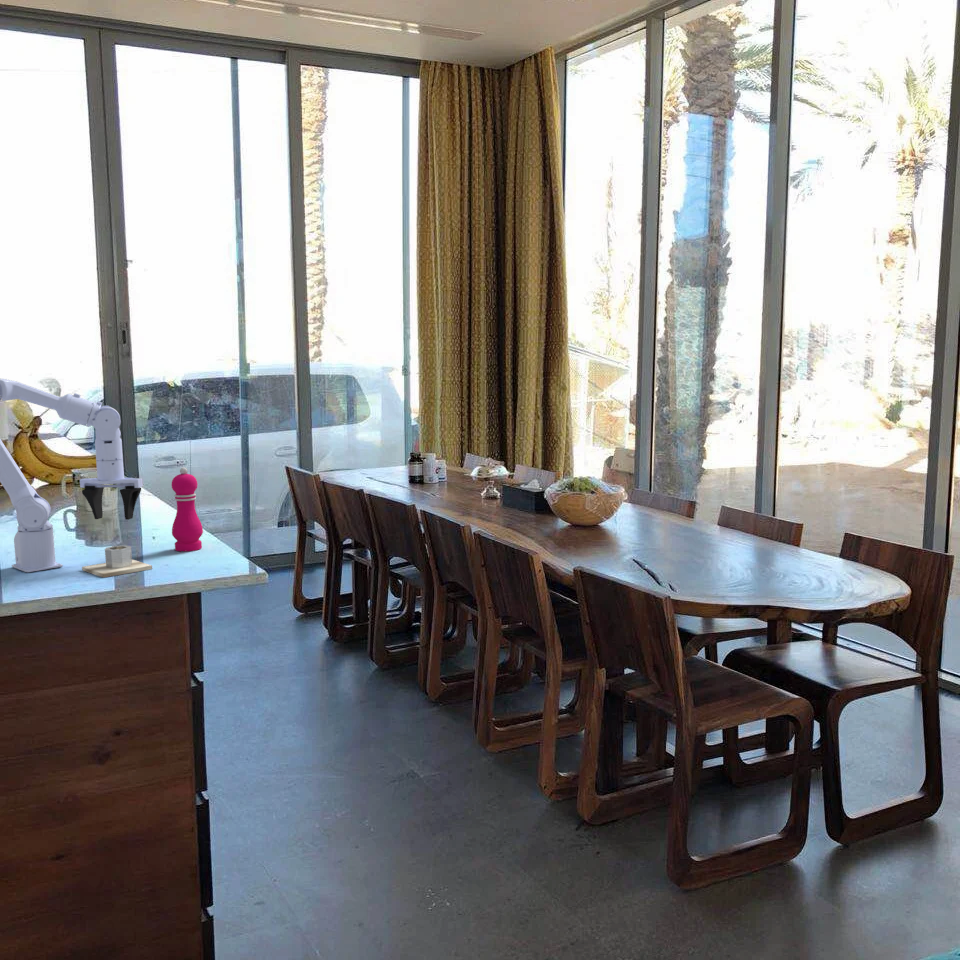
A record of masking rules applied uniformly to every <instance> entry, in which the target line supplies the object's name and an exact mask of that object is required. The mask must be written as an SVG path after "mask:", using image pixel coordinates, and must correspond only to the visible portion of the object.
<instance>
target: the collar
mask: <svg viewBox="0 0 960 960" xmlns="http://www.w3.org/2000/svg"><path fill="white" fill-rule="evenodd" d="M104 555H105V556H104V558H105V563H106V568H124V567H128V566H131V565H132V560H133V558H132V557H133V555H132V546H131V545H113V546H108V547H106V548H105V549H104Z"/></svg>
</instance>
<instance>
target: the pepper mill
mask: <svg viewBox="0 0 960 960" xmlns="http://www.w3.org/2000/svg"><path fill="white" fill-rule="evenodd" d="M179 473H180V474H177V475H175V476H174V477H173V478H172V481H171V489H172V490H173V492H174V493H175V494H174V501H176V514H175V518H174V520H173V523H172V528H171V535H172V537H173V538H174V539H175V540H176V541H175V542H174V549H175V551H177V552H182V551H183V552H195V551H198V550H201V549H202V548H203V546H202V545H203V543H202V540H200V538H201V537H202V535H203V534H204V530H203V525H202V522H201V519H200V518H199V516H198V514H197V511H196V506H195V500H196V499H197V496H196V495H197V494H196V493H195V492H196V490H197V489H198V486H199V485H198V480H197V478H196V477H195V476H194V475H193V474H190V473H188V469H187V468H186V467H185V466H182V467H181V468H180V469H179Z"/></svg>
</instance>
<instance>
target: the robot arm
mask: <svg viewBox="0 0 960 960" xmlns="http://www.w3.org/2000/svg"><path fill="white" fill-rule="evenodd" d="M12 400H13V401H14V400H21V401H23V402H27V403H30V404H33V405H37V406H41V407H45V408H47V409H51V410H54V411H55V412H56V413H57V415H58V417H59V418H60V419H63V420H65V421H69V422H72V423H75V424H78V425H81V426H86V427H87V428H90V427H91V426H93V428H94V429H95V430H94V431H95V432H94V433H95V439H94V446H95V447H94V449H95V461H96V464H95V465H96V475H97V477H90V478H88V477H87V478H80V479H79V487H80V489H81V488H82V490H81V494H82V495H83V496H84V498H85V500H86V501H87V502H88V503H87V504H88V505H89V507H90V509H91V511H92V514H93V517H94V520H99V519H103V512H104V511H103V494H104V488H122V489H119V493H120V495H121V498H122V503H123V513H124V515H123V516H124V519H125V521H126V520H127V521H128V520H131V519H133V518H134V513H135V512H134V511H135V507H136V503H137V500H138V497H139V495H140V494H141V492H142V487H144V486H143V478H141V477H140V478H137V477H136V478H135V477H125V472H124V471H125V468H124V455H123V441H122V440H123V439H122V437H121V436H122V434H121V430H120V426H121V423H122V421H121V415H120V413H119V412H118V411H117V410H116V409H115V408H113V407H111V406H110V405H103V402H101V401H97V402H94V401H91V400H89V399H86V398H83V397H81V394H79V393H76V392H74V393H73V394H71V393H67V394H64V395H63V396H58V395H55V394H53V393H50V392H48V391H44V390H41V389H38V388H36V387H33V386H30V385H28V384H25V383H22V382H20V381H18V380H16V381H15V380H11V379H7V378H0V401H2V402H5V401H12ZM0 484H1V485H2V487H3V488H4V490H5V492H6V493H7V494H8V497H9V499H10V503H11V505H12V506H13V508H14V509H15V512H16V520H17V523H18V524H19V526H18V525H17V527H16V528H17V531H16V533H15V535H14V537H13V542H14V543H13V544H14V556H15V558H14V559H15V564H11V567H12V568H14V569H17V570H20V571H22V572H25V573H32V572H38V571H45V570H51V569H58V568H61V567H63V566H64V565H63V564H62V563H59V562H57V561H56V553H55V552H56V551H55V549H56V548H55V539H54V538H55V537H54V536H55V535H54V526H53V524H52V523H50V521H49V520H48V519H49V518H50V516H51V512H52V509H51V505H50V503H49V502H48V500H46V499H45V498H44V497H41V496H40V495H39V494H38V492H37V491H36V489H35V488H34V487H33V486H32V485H31V484H30V483H29V481H28V480H27V477H26V476H25V475H24V473H23V472H22V471H21V469H20V467H19V466H18V464H17V463H16V461H15V460H14V458H13V456H12V455H11V453H10V452H9V450H8V448H7V447H6V445H5V444H4V442H3V441H2V439H1V438H0ZM83 488H84V489H83Z"/></svg>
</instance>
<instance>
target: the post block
mask: <svg viewBox="0 0 960 960" xmlns="http://www.w3.org/2000/svg"><path fill="white" fill-rule="evenodd" d="M152 569H153V565H151V564H150V563H149V564H148V563H145V562H141V561H139V560H136V559H132V565H131V566H128V567H124V568H106V562H101V563H97V564H96V563H95V564H92V565H85V566H82V567H81V571H83V572H87V573H89V574H92V575H95V576H97V577H101V578H109V577H115V576H120V575H126V574H131V573H132V574H133V573H138V572H142V571H148V570H149V571H150V570H152Z"/></svg>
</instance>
